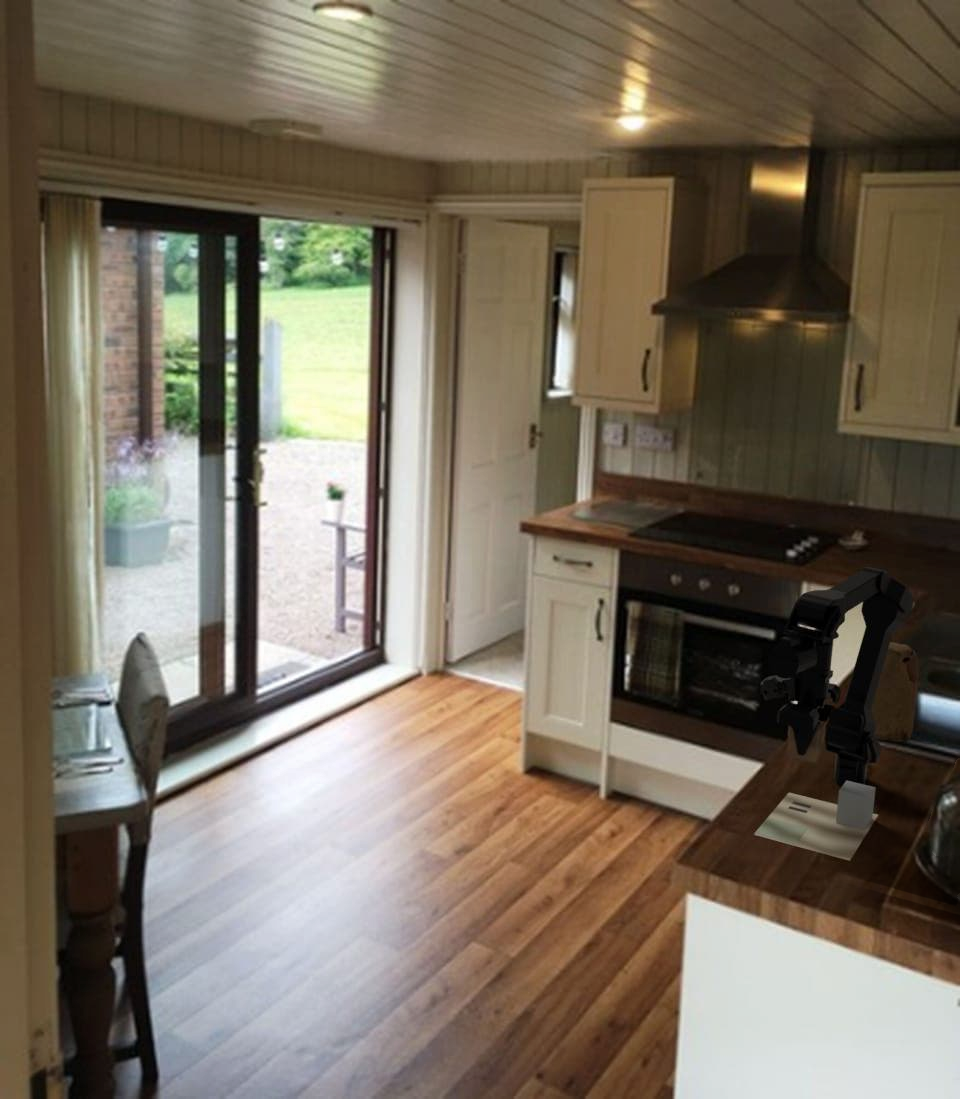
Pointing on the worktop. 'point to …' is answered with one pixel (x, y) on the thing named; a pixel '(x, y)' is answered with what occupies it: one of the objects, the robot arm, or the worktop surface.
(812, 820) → the board
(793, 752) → the walnut block
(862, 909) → the worktop surface
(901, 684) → the block
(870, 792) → the grey block
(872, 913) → the worktop surface
